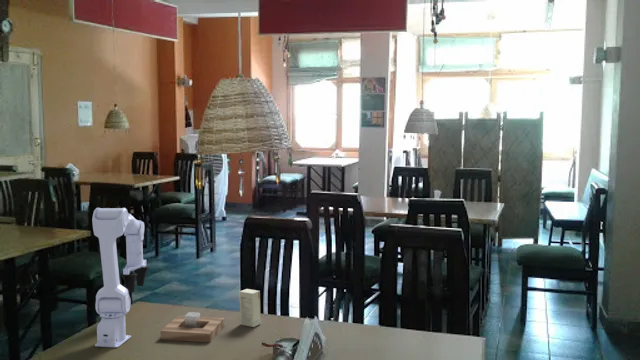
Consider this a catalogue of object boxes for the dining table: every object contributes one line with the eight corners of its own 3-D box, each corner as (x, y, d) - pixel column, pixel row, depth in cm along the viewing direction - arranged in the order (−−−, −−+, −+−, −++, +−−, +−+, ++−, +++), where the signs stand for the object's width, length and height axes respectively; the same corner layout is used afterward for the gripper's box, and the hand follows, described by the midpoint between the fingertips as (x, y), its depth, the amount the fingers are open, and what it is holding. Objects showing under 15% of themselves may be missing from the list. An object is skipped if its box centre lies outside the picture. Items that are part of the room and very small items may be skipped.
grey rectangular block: (196, 333, 191) (195, 316, 191) (184, 333, 192) (184, 315, 191) (200, 329, 195) (200, 312, 195) (189, 328, 196) (188, 312, 195)
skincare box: (261, 324, 202) (261, 290, 201) (253, 327, 199) (253, 293, 197) (247, 320, 206) (246, 287, 205) (239, 324, 202) (239, 290, 201)
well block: (210, 342, 185) (210, 333, 185) (160, 339, 188) (160, 330, 187) (224, 326, 200) (224, 318, 200) (178, 323, 202) (178, 315, 202)
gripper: (135, 257, 200) (137, 295, 202) (153, 248, 215) (154, 283, 216) (117, 256, 201) (118, 294, 203) (136, 248, 216) (137, 282, 217)
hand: (135, 288), depth 209 cm, fingers open, 7 cm apart
